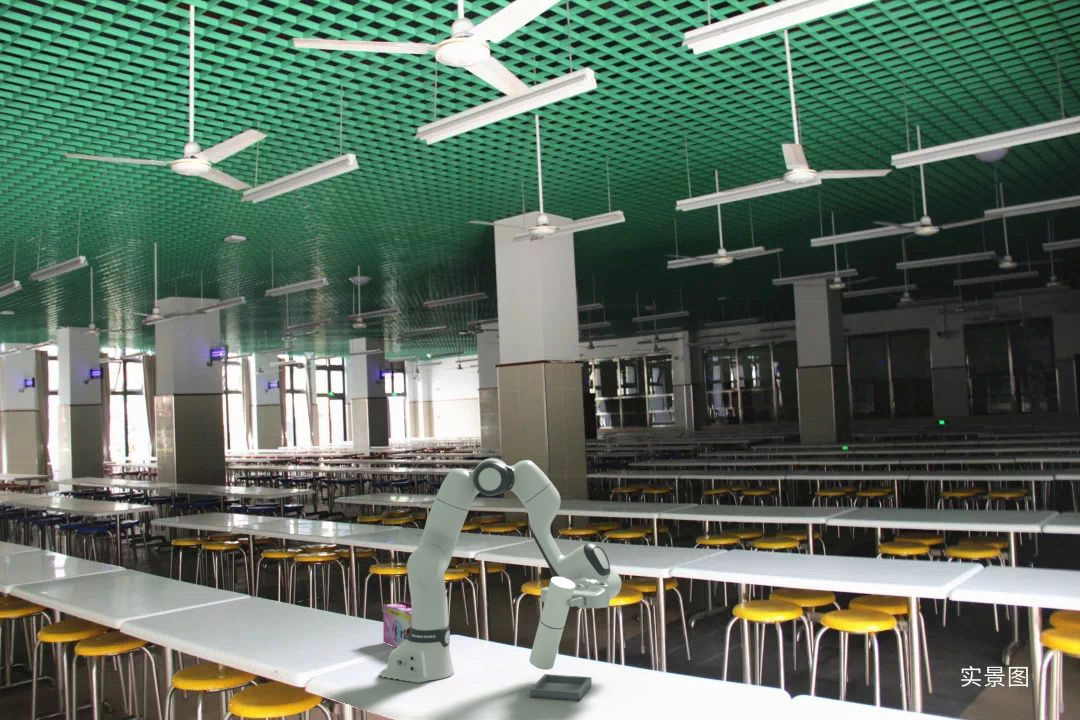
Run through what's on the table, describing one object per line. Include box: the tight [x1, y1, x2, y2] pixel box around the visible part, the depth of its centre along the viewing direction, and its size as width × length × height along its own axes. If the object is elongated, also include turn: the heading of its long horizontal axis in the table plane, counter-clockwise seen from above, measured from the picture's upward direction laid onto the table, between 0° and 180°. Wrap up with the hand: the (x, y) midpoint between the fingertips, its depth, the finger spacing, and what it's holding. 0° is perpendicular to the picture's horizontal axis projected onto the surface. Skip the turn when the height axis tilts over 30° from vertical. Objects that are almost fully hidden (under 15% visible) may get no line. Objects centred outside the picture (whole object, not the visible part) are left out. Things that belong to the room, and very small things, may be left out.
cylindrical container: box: [529, 577, 575, 671], centre depth 233 cm, size 7×7×25 cm
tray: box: [529, 673, 593, 702], centre depth 229 cm, size 14×14×2 cm
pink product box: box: [382, 600, 412, 648], centre depth 280 cm, size 24×8×14 cm, turn 38°
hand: (557, 601), depth 231 cm, fingers closed on cylindrical container, 7 cm apart
